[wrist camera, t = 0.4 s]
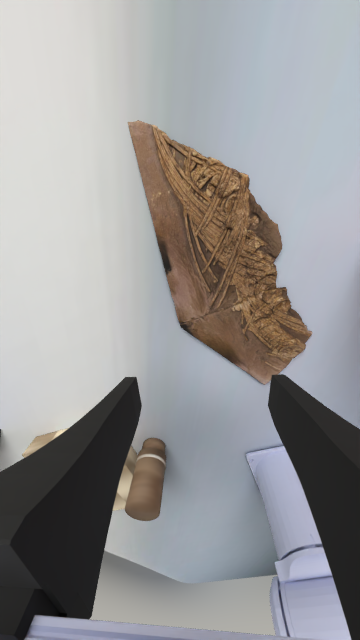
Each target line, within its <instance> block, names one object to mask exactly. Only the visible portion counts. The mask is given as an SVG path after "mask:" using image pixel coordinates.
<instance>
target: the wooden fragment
mask: <svg viewBox="0 0 360 640" xmlns="http://www.w3.org/2000/svg"><path fill="white" fill-rule="evenodd" d="M128 125H129V129H130V134H131V137H132V141H133V145H134V149H135V153H136V156H137V161H138V165H139V169H140V173H141V177H142V181H143V185H144V188H145V193H146V197H147V200H148V204H149V208H150V212H151V216H152V220H153V224H154V227H155V232H156V236H157V241H158V245H159V248H160V252H161V255H162V260H163V263H164V268H165V272H166V276H167V279H168V283H169V287H170V291H171V295H172V298H173V300H174V302H175V304H174V305H175V306H176V307H175V309H176V313H177V317H178V320H179V322H180V323H181V324H180V326H181V327H182V328H183V329H184V330H186V331H187V332H188V333H190V334H191V335H193V336H194V337H196V338H197V339H199V340H200V341H202V342H203V343H205V344H206V345H207V346H209V347H210V348H212V349H213V350H215V351H217V352H218V353H219V354H221V355H222V356H224V357H225V358H227V359H228V360H230V361H231V362H232V363H234V364H235V365H237V366H238V367H241V368H242V370H244V371H246V372H247V373H249V374H250V375H251V376H253V377H254V378H255V379H257V380H259V382H261V383H263V384H264V385H265V384H266V383H268V382H269V381H270V380H271V377H272V375H277V374H279V373H280V372H281V371H282V370H283V369H284V368H285V367H286V366H287V365H288V364H289V363H290V361H291V360H292V358H295V357H296V356H297V355H298V354H299V353H301V352H303V350H304V349H305V346H306V345H305V342H306V341H307V340H308V339H309V337H310V336H311V335H312V332H311V331H308V330H307V326H306V325H304V323H303V322H302V319H301V317H300V316H299V314H298V313H297V312H296V311H295V310H293V309H291V305H290V303H291V302H290V300H289V299H288V296H287V289H286V287H283V288H276V277H277V271H276V266H275V265H274V264H273V262H274V261H275V259H276V257H277V256H278V255H279V253H280V251H281V249H282V242H281V236H280V233H279V230H278V224H276V223H274V222H273V221H272V220H270V219H269V217H268V215H267V213H266V212H264V211H263V210H262V208H261V206H260V205H258V204H257V203H256V202H255V198H254V196H253V195H252V194H251V193H250V190H249V189H248V187H249V177H248V175H246V174H244V173H240V172H238V171H237V170H235V169H232V168H229V167H227V166H225V165H224V164H223V163H221V162H220V161H219V160H216V159H213V158H211V157H208V158H206V157H204V156H202V155H201V154H200V153H198V152H197V151H195V150H194V149H192V148H190V147H187V146H185V145H184V144H180V143H178V142H176V141H174V140H171V139H169V137H168V136H167V135H166V133H164V132H163V131H161V130H159V129H158V127H157V126H155V125H150V124H147V123H144V122H141V121H136V122H128ZM186 321H187V322H186ZM182 322H186V323H183V324H182Z"/></svg>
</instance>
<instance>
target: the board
mask: <svg viewBox="0 0 360 640" xmlns="http://www.w3.org/2000/svg"><path fill="white" fill-rule="evenodd" d="M68 429H69V428H68ZM66 430H67V429H64V430H60V431H56V432H53V433H49V434H45V435H41V436H38V437H36V438H35V439H34V440H33V441H32V443H31V444H30V445H29V447H28V448H27V449H26V450H25V452H24V453H23V454H22V456H23V457H24V458H25V457H27V456H29V455H30V454H32V453H34V452H35V451H37V450H38V449H40V448H41V447H43V446H44V445H46V444H47V443H49V442H50V441H52V440H53V439H55V438H56V437H58V436H59V435H60V434H62V433H63V432H65V431H66ZM137 458H138V455H137V454H136V452H135V451H134V449H133V448H132V446H131V447H130V450H129V452H128V455H127V458H126V461H125V464H124V467H123V471H122V474H121V477H120V481H119V485H118V490H117V494H116V498H115V502H114V506H113V511H114V510H120V509H125V505H126V501H127V497H128V493H129V489H130V485H131V481H132V477H133V473H134V470H135V464H136V460H137Z"/></svg>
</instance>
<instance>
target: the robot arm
mask: <svg viewBox="0 0 360 640" xmlns="http://www.w3.org/2000/svg"><path fill="white" fill-rule="evenodd" d="M141 406H142V405H141V400H140V394H139V389H138V383H137V378H136V377H125V378H124V379H123V380H122V381H121V382H120V383H119V384H118V385H117V386H116V387H115V388H114V389H113V390H112V391H111V392H110V393H109V394H108V395H107V396H106V397H105V398H104V399H103V400H102V401H101V402H100V403H98V404H97V405H96V406H95V407H94V408H93V409H92V410H90V411H89V412H88V413H87V414H86V415H85V416H84V417H82V418H81V419H80V420H79V421H78V422H76V423H75V424H74V425H73V426H71V427H70V428H69V429H67V430H66V431H65V432H63V433H62V434H60V435H59V436H58V437H56V438H55V439H53V440H52V441H50V442H49V443H47V444H46V445H44V446H43V447H41V448H40V449H38V450H37V451H35V452H34V453H32V454H30V455H29V456H27V457H25V458H24V459H22V460H20V461H19V462H17V463H15V464H14V465H12V466H10V467H8V468H7V469H5V470H3V471H1V472H0V640H360V429H359V428H357V427H355V426H354V425H352V424H351V423H349V422H347V421H346V420H344V419H343V418H342V417H340V416H339V415H337V414H336V413H334V412H333V411H331V410H330V409H329V408H327V407H326V406H324V405H323V404H322V403H320V402H319V401H318V400H316V399H315V398H314V397H312V396H311V395H310V394H308V393H307V392H306V391H305V390H303V389H302V388H301V387H299V386H298V385H297V384H296V383H294V382H293V381H292V380H291V379H289V378H288V377H287V376H285V375H272V377H271V385H270V394H269V402H268V407H269V410H270V413H271V416H272V419H273V422H274V425H275V427H276V430H277V432H278V434H279V436H280V438H281V441H282V443H283V445H284V446H281V447H276V448H271V449H265V450H260V451H255V452H250V453H247V454H246V458H247V461H248V463H249V466H250V468H251V471H252V473H253V475H254V478H255V480H256V483H257V485H258V488H259V490H260V493H261V495H262V498H263V502H264V506H265V509H266V513H267V517H268V521H269V525H270V528H271V532H272V536H273V540H274V543H275V547H276V551H277V555H278V559H279V561H277V562H275V566H276V570H277V575H278V576H276V577H273V579H272V585H271V589H270V606H271V613H272V619H273V624H274V629H275V634H276V636H273V635H261V634H250V633H238V632H227V631H215V630H202V629H192V628H181V627H169V626H158V625H146V624H135V623H123V622H111V621H100V620H89V619H90V617H91V616H92V611H93V605H94V600H95V594H96V589H97V584H98V578H99V573H100V568H101V563H102V558H103V553H104V548H105V543H106V538H107V534H108V529H109V524H110V520H111V515H112V511H113V506H114V502H115V498H116V494H117V490H118V485H119V481H120V477H121V474H122V471H123V467H124V464H125V461H126V458H127V455H128V452H129V450H130V447H131V444H132V441H133V438H134V435H135V431H136V428H137V425H138V421H139V417H140V412H141Z"/></svg>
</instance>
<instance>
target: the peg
mask: <svg viewBox="0 0 360 640" xmlns="http://www.w3.org/2000/svg"><path fill="white" fill-rule="evenodd" d="M165 469H166V455H165V444H164V442H163V441H161V440H160V439H157V438H149V439H147V440H145V441H144V443H143V447H142V450H141V451H140V452H139V454H138V458H137V460H136V464H135V470H134V473H133V477H132V481H131V485H130V489H129V493H128V497H127V501H126V505H125V511H126V513H127V514H128V515H129V516H130V517H132V518H134V519H137V520H141V521H150V520H154V519H156V518H157V517H158V516H159V514H160V507H161V499H162V490H163V482H164V474H165Z"/></svg>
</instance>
